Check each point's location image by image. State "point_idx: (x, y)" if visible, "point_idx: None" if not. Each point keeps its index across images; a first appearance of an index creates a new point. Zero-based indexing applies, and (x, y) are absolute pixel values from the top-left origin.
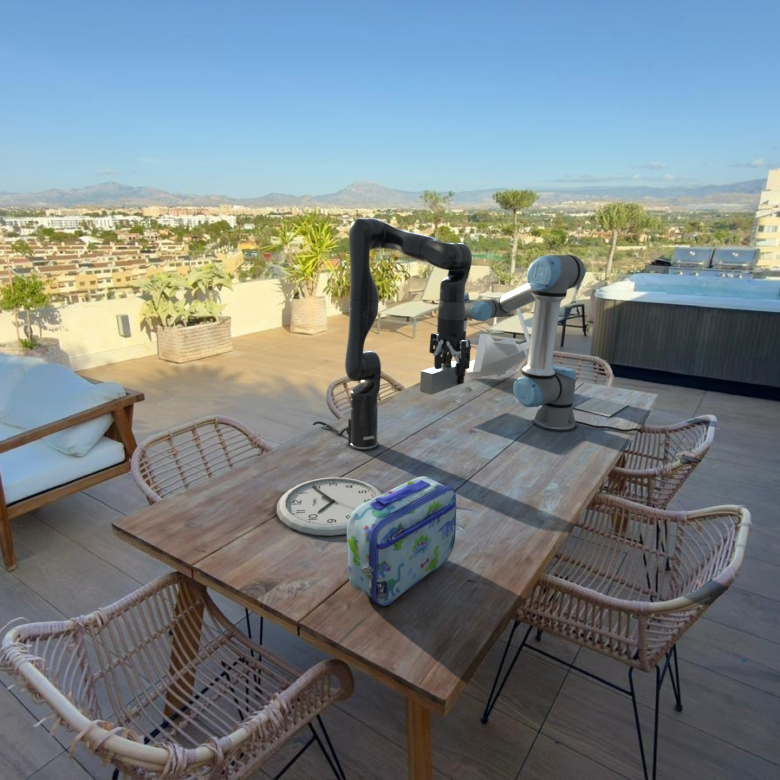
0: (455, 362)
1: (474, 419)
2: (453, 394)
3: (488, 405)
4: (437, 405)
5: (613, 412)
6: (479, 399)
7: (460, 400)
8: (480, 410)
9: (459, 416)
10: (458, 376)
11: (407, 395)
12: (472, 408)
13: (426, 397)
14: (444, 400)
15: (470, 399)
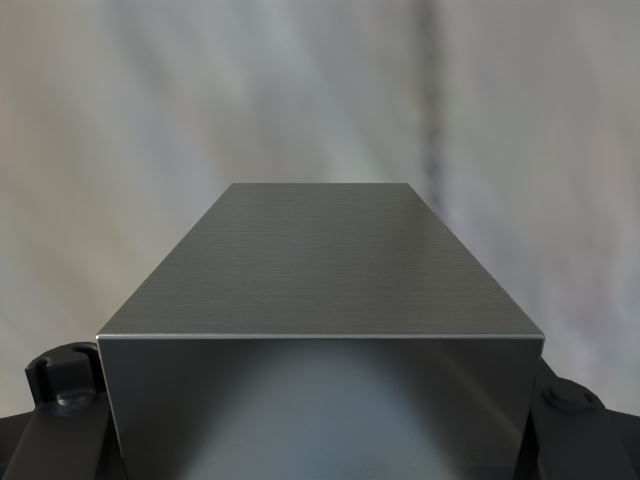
0: (251, 442)
1: (631, 411)
2: (214, 60)
3: (622, 103)
4: None
5: None
6: (484, 5)
7: (364, 164)
8: (605, 254)
9: None
10: None
11: (10, 345)
12: (536, 258)
13: (129, 290)
14: None
15: (416, 73)
